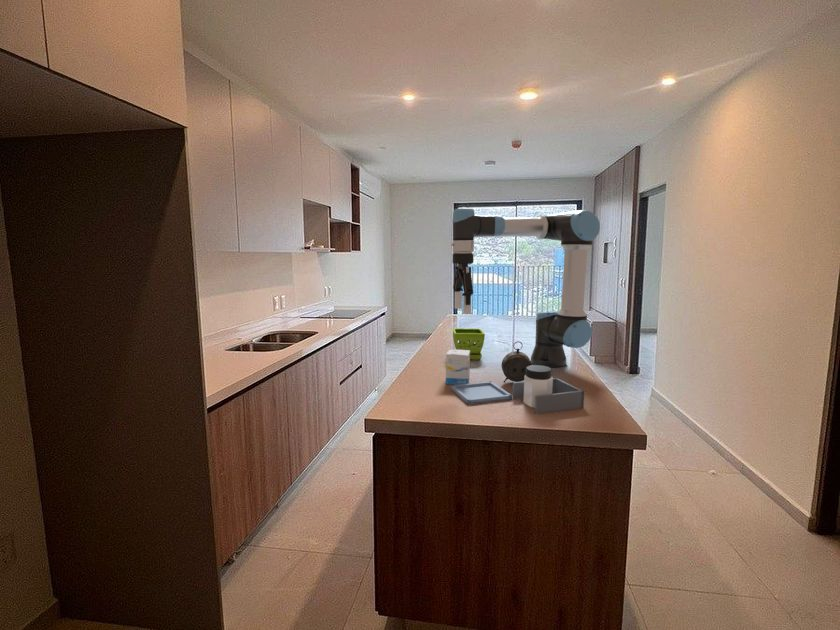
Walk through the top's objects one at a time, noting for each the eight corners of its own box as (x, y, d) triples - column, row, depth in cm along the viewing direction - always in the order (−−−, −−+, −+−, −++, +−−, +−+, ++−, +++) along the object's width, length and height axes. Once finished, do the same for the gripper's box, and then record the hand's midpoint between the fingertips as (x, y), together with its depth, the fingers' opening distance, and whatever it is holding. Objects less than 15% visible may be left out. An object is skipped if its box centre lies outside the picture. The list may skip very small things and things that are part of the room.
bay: (555, 392, 152) (556, 377, 151) (583, 407, 138) (584, 391, 137) (512, 397, 147) (513, 382, 146) (536, 413, 133) (537, 396, 132)
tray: (491, 385, 161) (491, 381, 160) (512, 399, 145) (512, 395, 145) (450, 389, 156) (450, 385, 156) (468, 404, 141) (468, 400, 141)
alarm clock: (529, 381, 165) (531, 340, 162) (532, 386, 159) (534, 343, 157) (500, 381, 165) (502, 339, 163) (502, 385, 160) (503, 342, 158)
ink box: (468, 385, 160) (468, 355, 158) (445, 384, 162) (445, 354, 160) (470, 378, 169) (470, 349, 167) (448, 377, 170) (448, 348, 168)
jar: (531, 397, 147) (533, 363, 146) (554, 402, 142) (556, 367, 140) (519, 404, 141) (520, 369, 139) (543, 410, 135) (544, 373, 134)
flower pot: (484, 361, 195) (485, 333, 193) (453, 361, 195) (454, 333, 193) (480, 353, 208) (481, 327, 206) (451, 353, 209) (452, 327, 207)
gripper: (445, 252, 167) (445, 306, 170) (460, 253, 142) (460, 316, 146) (464, 252, 168) (464, 306, 171) (483, 253, 143) (481, 316, 147)
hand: (462, 311), depth 158 cm, fingers open, 13 cm apart
